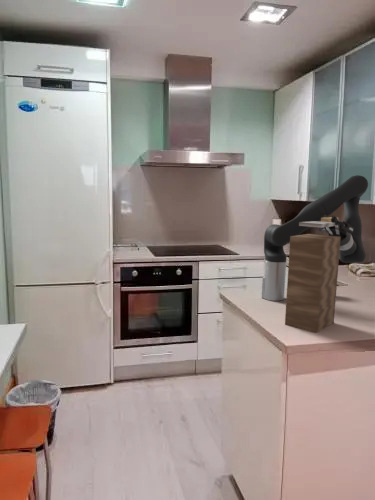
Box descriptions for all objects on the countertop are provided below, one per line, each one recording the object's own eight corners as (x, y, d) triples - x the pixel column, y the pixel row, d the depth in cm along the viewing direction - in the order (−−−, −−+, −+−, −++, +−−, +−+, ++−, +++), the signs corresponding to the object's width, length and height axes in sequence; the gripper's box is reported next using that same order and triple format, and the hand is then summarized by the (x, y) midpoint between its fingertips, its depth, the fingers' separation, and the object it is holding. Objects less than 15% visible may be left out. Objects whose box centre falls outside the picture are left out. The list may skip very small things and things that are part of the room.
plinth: (316, 332, 135) (323, 239, 131) (284, 324, 143) (290, 236, 138) (333, 322, 146) (340, 236, 142) (303, 315, 154) (308, 233, 150)
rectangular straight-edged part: (321, 227, 133) (321, 219, 132) (298, 225, 138) (299, 218, 138) (345, 224, 149) (345, 218, 149) (324, 223, 154) (324, 216, 154)
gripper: (326, 228, 164) (313, 207, 152) (361, 231, 155) (350, 209, 143) (321, 244, 162) (307, 224, 150) (356, 248, 153) (344, 227, 141)
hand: (328, 217), depth 146 cm, fingers closed on rectangular straight-edged part, 2 cm apart
